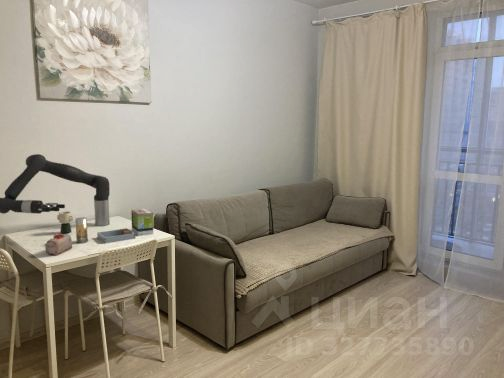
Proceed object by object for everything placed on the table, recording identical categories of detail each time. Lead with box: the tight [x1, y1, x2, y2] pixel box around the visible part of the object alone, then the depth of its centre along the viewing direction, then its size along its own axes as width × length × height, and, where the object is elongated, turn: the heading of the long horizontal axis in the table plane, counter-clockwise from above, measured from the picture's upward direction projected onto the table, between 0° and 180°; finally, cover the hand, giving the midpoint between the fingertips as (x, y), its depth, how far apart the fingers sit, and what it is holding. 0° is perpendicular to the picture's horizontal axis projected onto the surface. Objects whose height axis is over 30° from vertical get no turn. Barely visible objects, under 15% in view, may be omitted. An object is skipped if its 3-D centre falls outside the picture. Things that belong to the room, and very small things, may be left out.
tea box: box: [130, 208, 154, 237], centre depth 259 cm, size 15×10×15 cm
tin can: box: [75, 217, 89, 244], centre depth 239 cm, size 6×6×14 cm
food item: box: [44, 233, 73, 256], centre depth 222 cm, size 14×8×10 cm, turn 169°
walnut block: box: [121, 228, 132, 235], centre depth 250 cm, size 6×4×4 cm, turn 37°
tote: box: [97, 227, 136, 244], centre depth 246 cm, size 14×18×4 cm
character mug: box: [56, 210, 74, 234], centre depth 258 cm, size 11×7×13 cm, turn 79°
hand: (61, 207), depth 236 cm, fingers open, 8 cm apart
